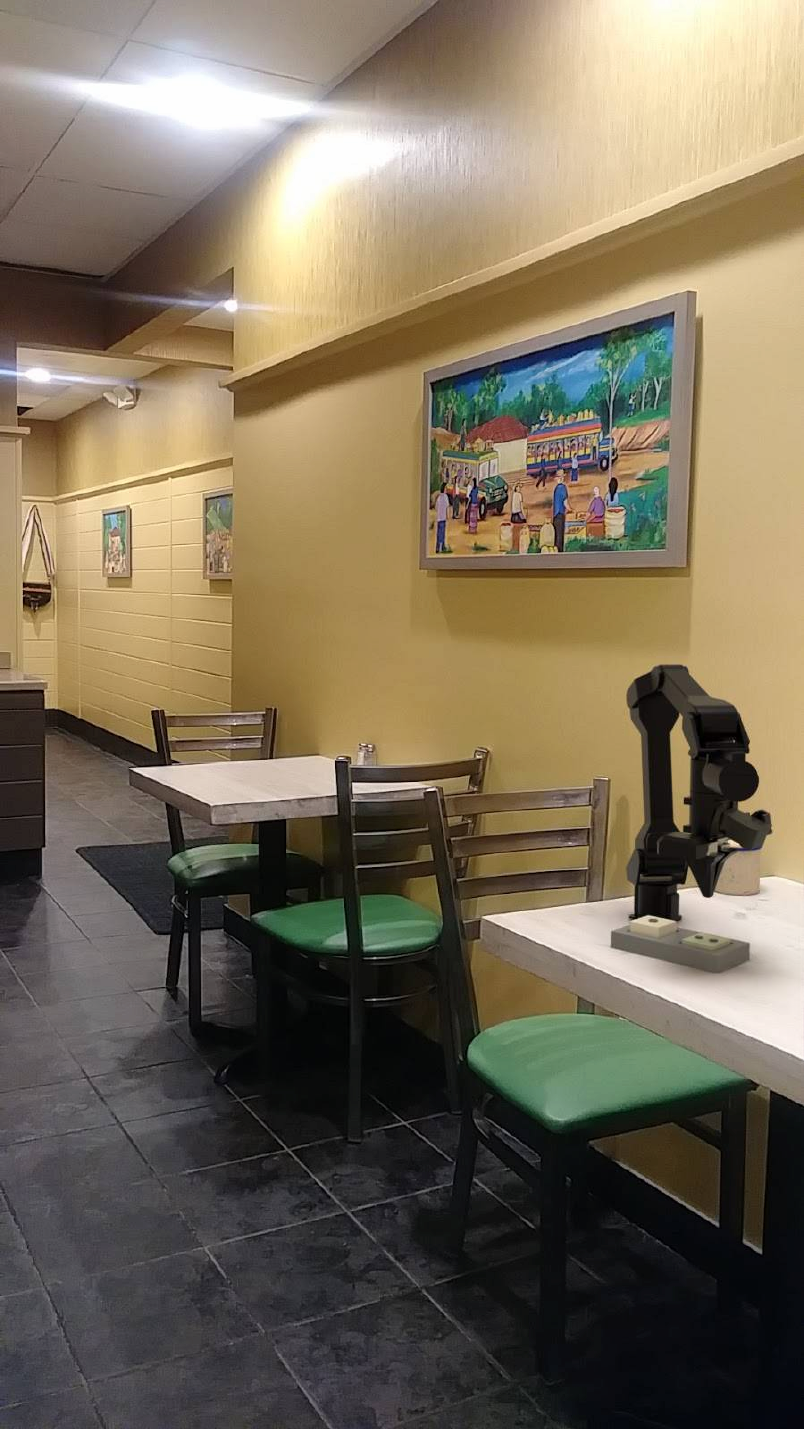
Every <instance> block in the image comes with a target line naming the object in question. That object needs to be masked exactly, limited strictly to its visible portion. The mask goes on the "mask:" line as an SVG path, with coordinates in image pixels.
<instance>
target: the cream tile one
mask: <svg viewBox="0 0 804 1429" xmlns="http://www.w3.org/2000/svg"><path fill="white" fill-rule="evenodd" d="M677 921H678V920H676V921H673V920H668V919H664V918H659V917H654V916H649V915H647V916H644V917H641V918H638V919H635V920H633V919H632V920H629V925H630V932H632V933H637V934H641V935H645V936H650V937H654V938H658V939H660V938H662V937H665V936H668V935H671V934H673V933H676V927H678V926H677V925H678V924H677Z"/></svg>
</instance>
